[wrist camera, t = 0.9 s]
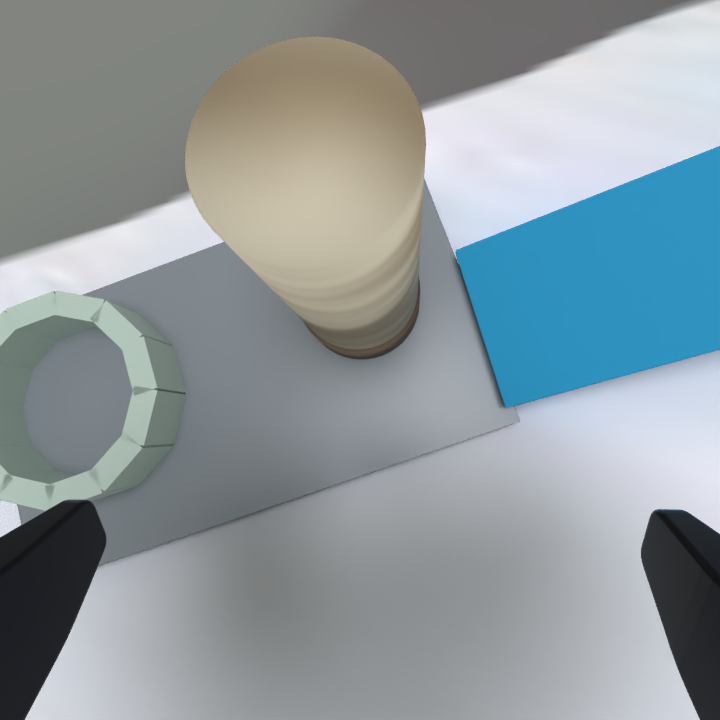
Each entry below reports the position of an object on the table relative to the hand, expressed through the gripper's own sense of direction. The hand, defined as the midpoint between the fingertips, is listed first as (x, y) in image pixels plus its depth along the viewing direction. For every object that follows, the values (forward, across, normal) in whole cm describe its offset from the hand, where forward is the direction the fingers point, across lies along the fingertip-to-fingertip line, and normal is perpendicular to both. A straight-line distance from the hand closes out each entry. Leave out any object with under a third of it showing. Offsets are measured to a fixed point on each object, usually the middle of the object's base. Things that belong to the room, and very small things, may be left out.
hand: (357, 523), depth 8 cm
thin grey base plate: (+14, +7, +5) cm, 16 cm away
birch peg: (+14, +1, +2) cm, 14 cm away
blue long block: (+16, -13, +2) cm, 21 cm away
